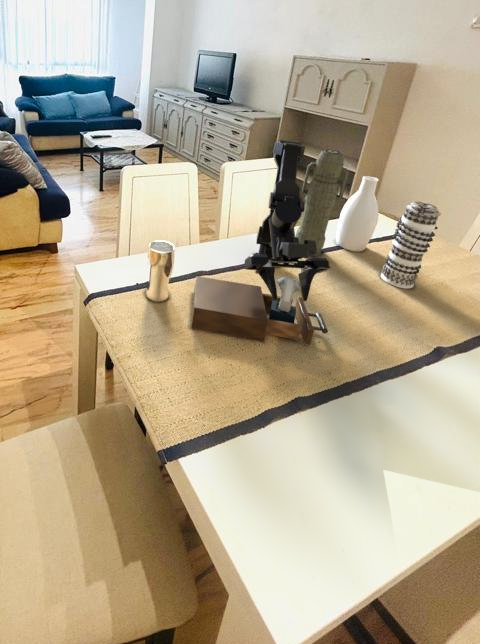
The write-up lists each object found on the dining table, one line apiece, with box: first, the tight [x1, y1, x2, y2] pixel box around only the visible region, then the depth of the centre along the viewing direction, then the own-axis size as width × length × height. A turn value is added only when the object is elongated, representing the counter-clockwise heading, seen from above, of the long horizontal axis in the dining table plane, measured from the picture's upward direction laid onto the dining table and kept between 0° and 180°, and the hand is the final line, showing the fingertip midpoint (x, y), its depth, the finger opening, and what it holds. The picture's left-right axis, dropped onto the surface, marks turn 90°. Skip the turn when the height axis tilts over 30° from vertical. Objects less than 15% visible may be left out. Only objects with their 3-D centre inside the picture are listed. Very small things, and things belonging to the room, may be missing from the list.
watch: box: [269, 276, 301, 323], centre depth 93 cm, size 6×8×11 cm
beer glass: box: [145, 239, 176, 303], centre depth 102 cm, size 7×7×15 cm
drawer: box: [262, 292, 329, 346], centre depth 94 cm, size 20×12×4 cm, turn 78°
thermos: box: [295, 148, 350, 257], centre depth 126 cm, size 9×12×35 cm
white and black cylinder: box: [380, 201, 442, 289], centre depth 112 cm, size 9×9×25 cm
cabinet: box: [191, 275, 268, 342], centre depth 96 cm, size 17×14×6 cm
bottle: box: [335, 175, 379, 252], centre depth 132 cm, size 11×11×25 cm
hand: (290, 300), depth 90 cm, fingers open, 7 cm apart
